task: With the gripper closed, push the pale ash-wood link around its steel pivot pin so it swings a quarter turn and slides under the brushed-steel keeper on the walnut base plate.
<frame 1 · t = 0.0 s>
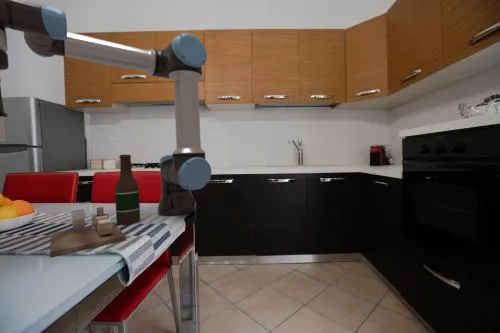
base plate: (87, 238, 68), on the table
beer bottle: (129, 222, 84), on the table
keeper: (101, 230, 75), resting on base plate
link: (102, 219, 71), point 5 cm above the table, hinge at 90.0°
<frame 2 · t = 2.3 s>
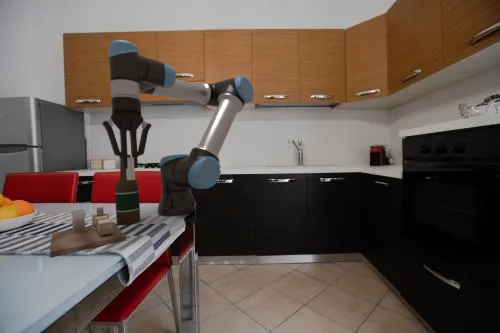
hand: (130, 179, 70), 16 cm above the table, tool pointing down, fingers closed
nothing on the table moved.
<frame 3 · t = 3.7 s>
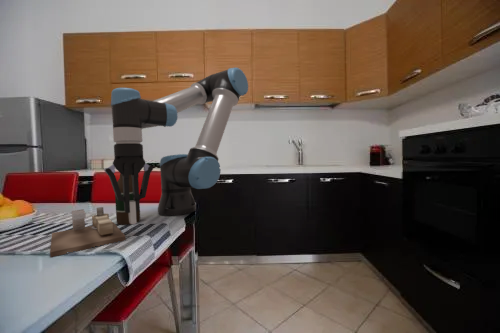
hand: (132, 222, 70), 3 cm above the table, tool pointing down, fingers closed
nothing on the table moved.
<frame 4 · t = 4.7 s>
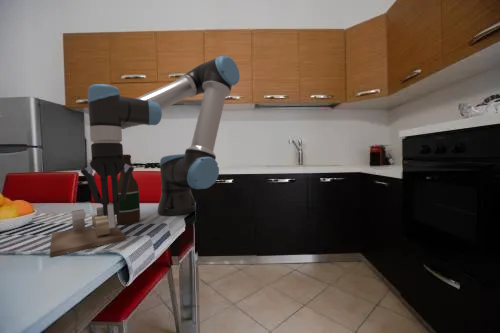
hand: (112, 226, 67), 4 cm above the table, tool pointing down, fingers closed
link: (101, 219, 71), point 5 cm above the table, hinge at 86.1°, touching gripper
everything else where it was.
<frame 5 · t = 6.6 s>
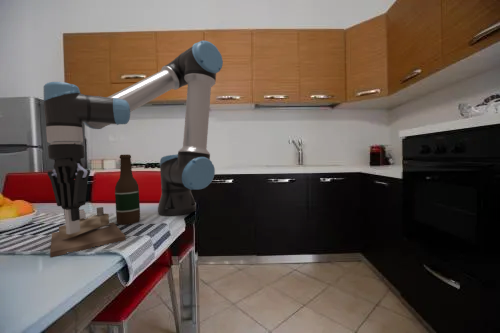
hand: (73, 232, 63), 3 cm above the table, tool pointing down, fingers closed
link: (86, 220, 70), point 5 cm above the table, hinge at 39.5°, touching gripper
everything else where it was.
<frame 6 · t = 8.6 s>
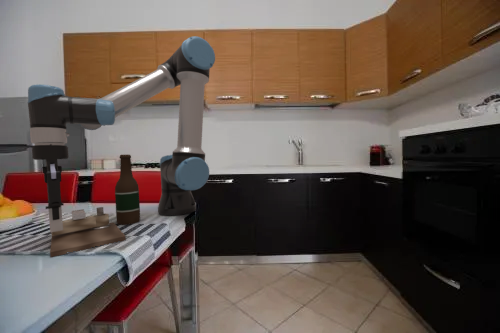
hand: (56, 230, 65), 3 cm above the table, tool pointing down, fingers closed
link: (81, 219, 71), point 5 cm above the table, hinge at 6.3°, touching gripper
everything else where it was.
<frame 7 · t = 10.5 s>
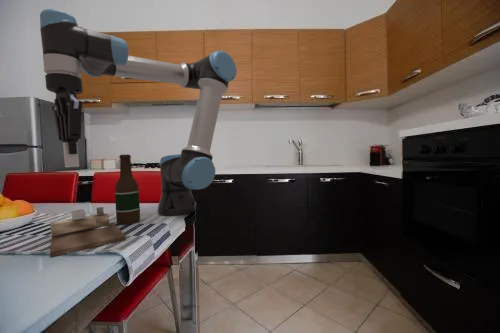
hand: (72, 166, 63), 21 cm above the table, tool pointing down, fingers closed
link: (81, 219, 71), point 5 cm above the table, hinge at 6.2°
everything else where it was.
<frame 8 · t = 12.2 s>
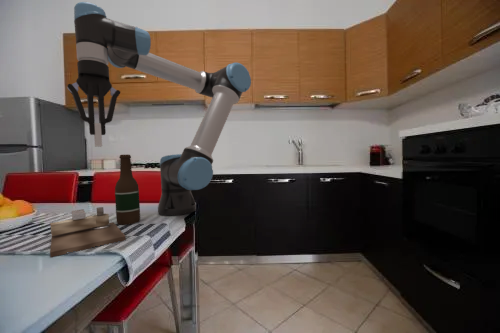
hand: (98, 146, 69), 26 cm above the table, tool pointing down, fingers closed
nothing on the table moved.
at the end: link at +6° (first picture: +90°); beer bottle moved 0.2 cm from its start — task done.
